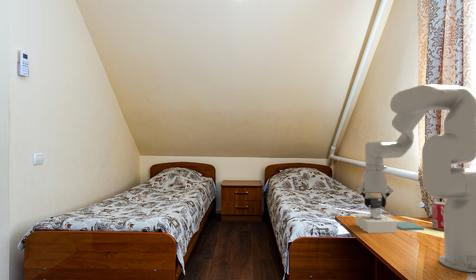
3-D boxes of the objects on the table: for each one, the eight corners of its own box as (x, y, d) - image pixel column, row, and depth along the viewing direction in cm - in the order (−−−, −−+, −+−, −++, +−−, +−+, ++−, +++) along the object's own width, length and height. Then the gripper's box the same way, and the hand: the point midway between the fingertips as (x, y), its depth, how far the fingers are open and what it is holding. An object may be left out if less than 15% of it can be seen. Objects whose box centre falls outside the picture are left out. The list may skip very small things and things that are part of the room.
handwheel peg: (380, 222, 141) (379, 197, 141) (385, 226, 134) (384, 199, 135) (366, 222, 141) (365, 197, 142) (370, 225, 135) (369, 199, 135)
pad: (423, 229, 136) (423, 227, 136) (402, 230, 135) (402, 227, 135) (410, 223, 146) (410, 221, 146) (390, 224, 145) (390, 222, 145)
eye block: (396, 232, 132) (396, 221, 132) (367, 233, 131) (367, 221, 132) (381, 224, 145) (381, 214, 145) (355, 225, 144) (355, 214, 145)
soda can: (453, 229, 136) (453, 203, 136) (446, 232, 132) (446, 205, 132) (436, 225, 142) (435, 200, 142) (429, 228, 138) (429, 202, 138)
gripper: (390, 167, 141) (391, 205, 141) (353, 167, 143) (353, 205, 143) (397, 168, 134) (398, 208, 133) (357, 168, 136) (358, 208, 135)
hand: (375, 206), depth 138 cm, fingers closed on handwheel peg, 6 cm apart
